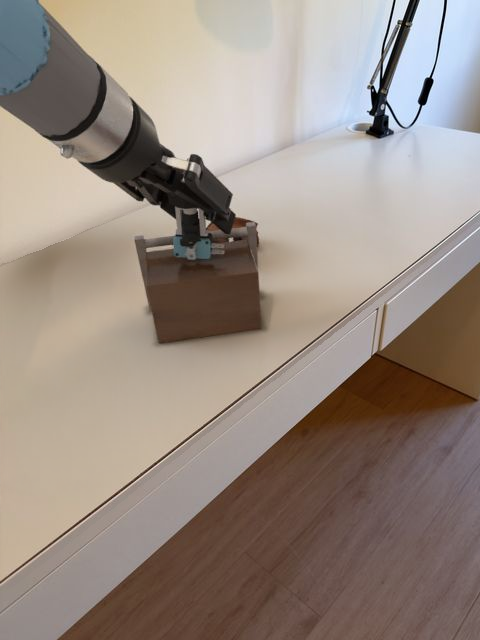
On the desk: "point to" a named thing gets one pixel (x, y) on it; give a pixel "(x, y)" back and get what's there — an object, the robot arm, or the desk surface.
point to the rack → (202, 287)
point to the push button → (191, 231)
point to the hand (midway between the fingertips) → (209, 220)
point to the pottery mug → (237, 224)
